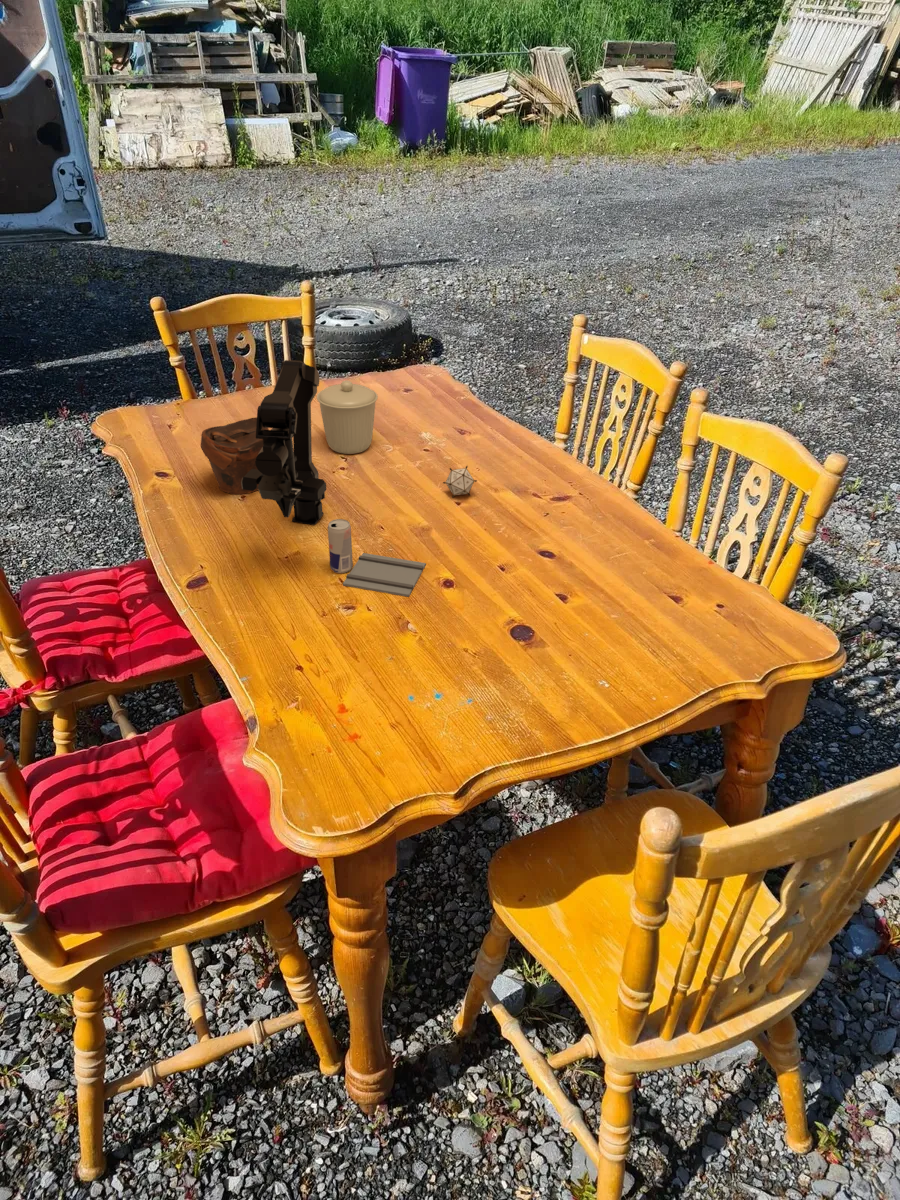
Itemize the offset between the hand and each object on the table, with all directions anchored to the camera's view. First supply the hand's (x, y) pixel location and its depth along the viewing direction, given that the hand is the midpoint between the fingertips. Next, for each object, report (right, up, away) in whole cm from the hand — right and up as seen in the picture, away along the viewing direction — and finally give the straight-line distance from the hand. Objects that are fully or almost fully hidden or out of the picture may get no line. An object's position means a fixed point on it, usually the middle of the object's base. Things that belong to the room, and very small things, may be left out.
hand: (287, 516), depth 188 cm
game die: (+41, +10, +37) cm, 56 cm away
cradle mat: (+23, -14, +2) cm, 27 cm away
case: (-20, +13, +38) cm, 45 cm away
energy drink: (+12, -12, +4) cm, 18 cm away
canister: (+7, +28, +60) cm, 67 cm away
